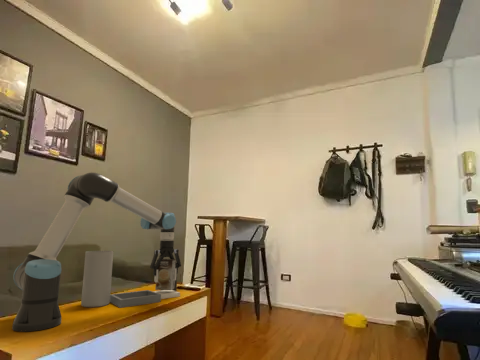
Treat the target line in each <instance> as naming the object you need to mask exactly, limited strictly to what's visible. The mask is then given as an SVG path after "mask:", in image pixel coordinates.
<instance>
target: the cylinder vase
mask: <svg viewBox="0 0 480 360" xmlns="http://www.w3.org/2000/svg"><path fill="white" fill-rule="evenodd" d="M113 260H114V251H113V250H89V251H88V250H87V251H85V255H84V267H83V280H82V291H81V300H80V301H81V303H80V305H81V307H83V308H100V307H104V306H107V305H109V304H110V303H111V302H110V294H111V289H112V276H113V275H112V274H113V264H114V263H113V262H114V261H113Z"/></svg>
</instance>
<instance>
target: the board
mask: <svg viewBox="0 0 480 360" xmlns="http://www.w3.org/2000/svg"><path fill="white" fill-rule="evenodd" d="M152 292H155V293H158V294H161V300H163V299H170V298H178V297H181V292H180V291H177V290H176V291H173V290H161V291H160V290H155V291H153V290H152Z"/></svg>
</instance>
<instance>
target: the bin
mask: <svg viewBox="0 0 480 360" xmlns="http://www.w3.org/2000/svg"><path fill="white" fill-rule="evenodd" d="M161 300H162V299H161V294H158V293H155V292H153V290H149V289H148V290H147V289H145V290H138V291H129V292H128V291H127V292H121V293H113V294H111V293H110V302H109V303H110V304H113V306H116V307H118V308H120V309H121V308H128V307H134V306H140V305H141V306H142V305H148V304H155V303H161Z"/></svg>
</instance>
